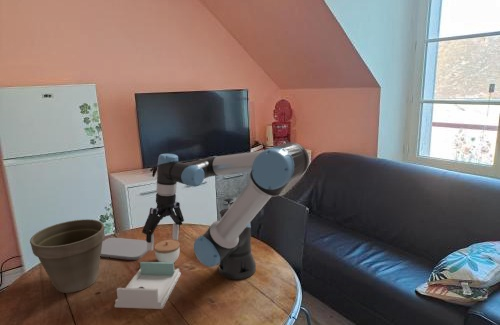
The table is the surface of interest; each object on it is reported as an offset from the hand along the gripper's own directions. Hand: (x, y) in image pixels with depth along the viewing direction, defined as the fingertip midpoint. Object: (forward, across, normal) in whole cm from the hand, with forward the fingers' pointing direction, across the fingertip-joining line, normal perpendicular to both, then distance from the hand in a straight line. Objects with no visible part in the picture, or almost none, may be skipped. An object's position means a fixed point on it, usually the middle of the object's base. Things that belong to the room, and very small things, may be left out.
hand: (163, 244), depth 136 cm
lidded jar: (+12, -8, -4) cm, 16 cm away
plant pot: (+17, +22, -24) cm, 36 cm away
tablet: (+15, -6, -31) cm, 35 cm away
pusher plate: (+11, +3, +1) cm, 12 cm away
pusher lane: (+13, +10, +5) cm, 18 cm away
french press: (+9, -34, +10) cm, 36 cm away
